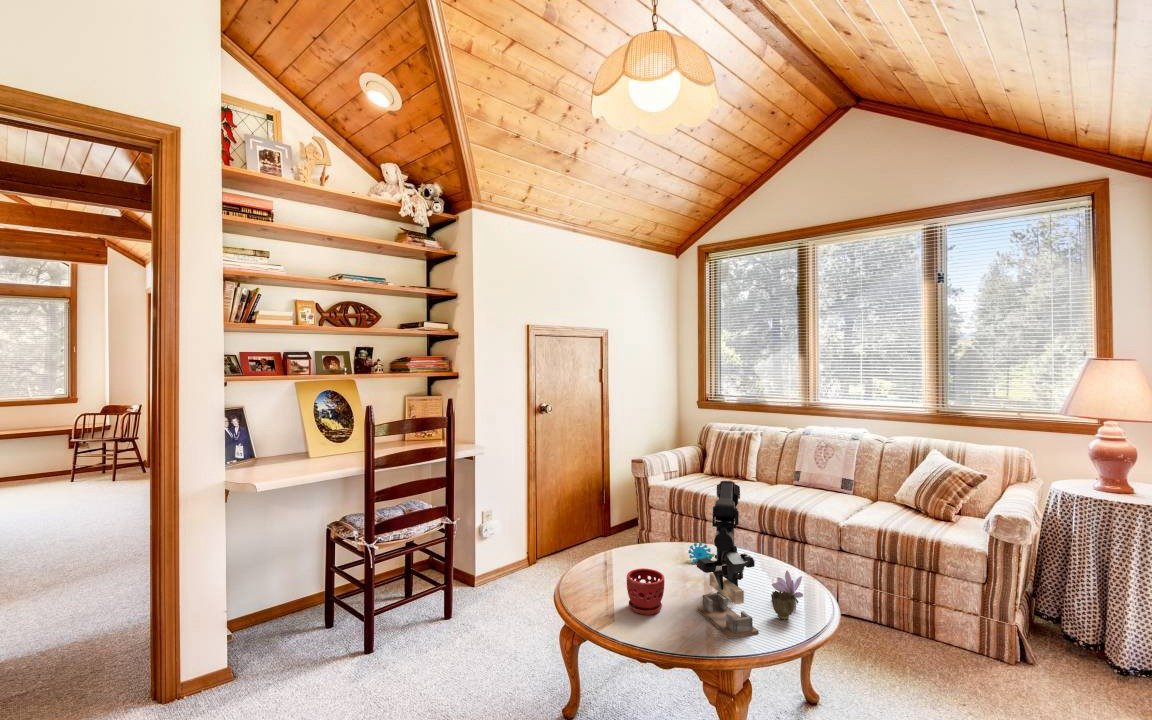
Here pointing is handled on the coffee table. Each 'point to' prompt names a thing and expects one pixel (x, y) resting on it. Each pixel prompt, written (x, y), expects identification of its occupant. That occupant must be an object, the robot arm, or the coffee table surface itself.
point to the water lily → (788, 587)
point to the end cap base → (726, 616)
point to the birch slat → (728, 590)
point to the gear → (700, 552)
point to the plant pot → (645, 591)
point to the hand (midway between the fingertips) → (726, 588)
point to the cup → (783, 604)
